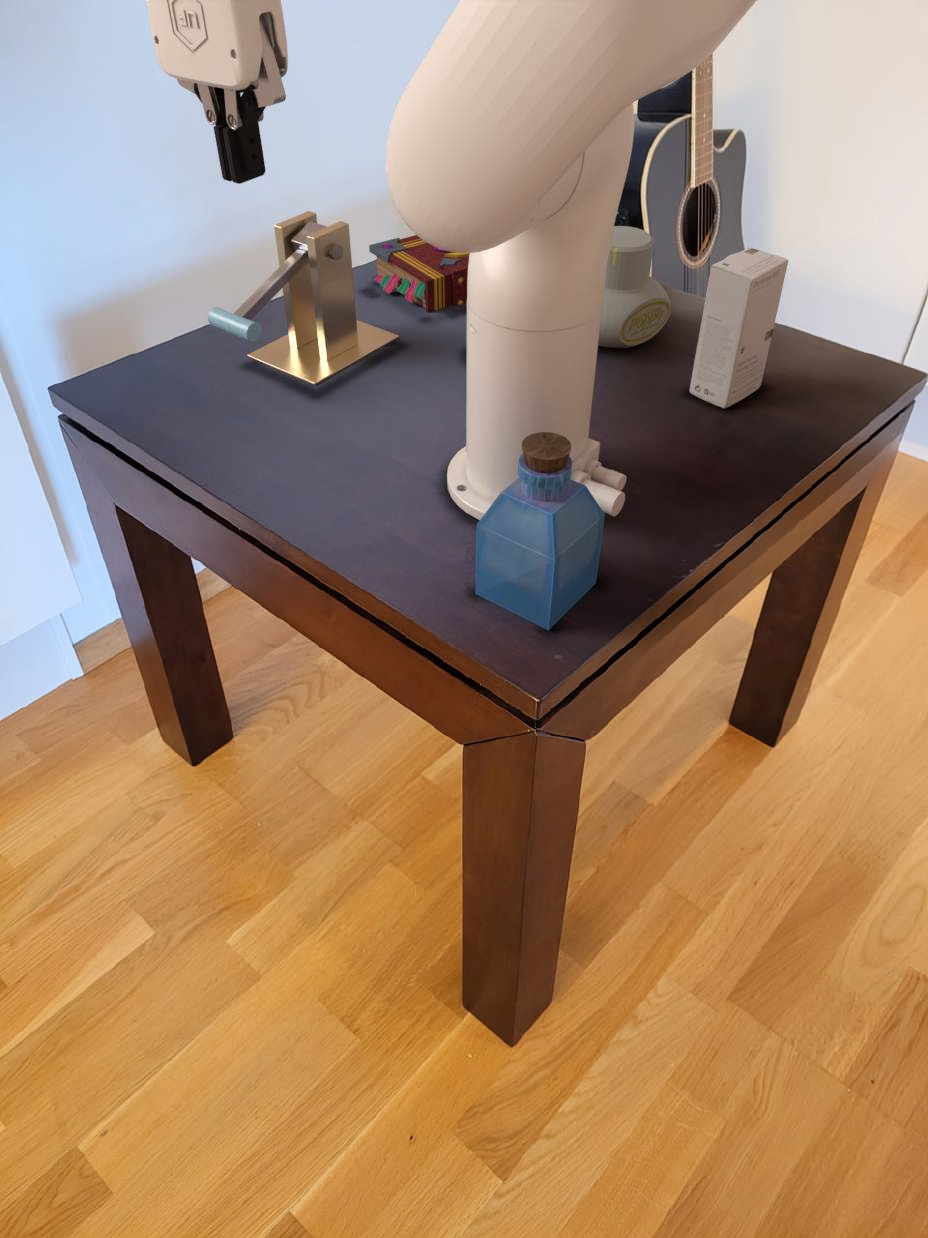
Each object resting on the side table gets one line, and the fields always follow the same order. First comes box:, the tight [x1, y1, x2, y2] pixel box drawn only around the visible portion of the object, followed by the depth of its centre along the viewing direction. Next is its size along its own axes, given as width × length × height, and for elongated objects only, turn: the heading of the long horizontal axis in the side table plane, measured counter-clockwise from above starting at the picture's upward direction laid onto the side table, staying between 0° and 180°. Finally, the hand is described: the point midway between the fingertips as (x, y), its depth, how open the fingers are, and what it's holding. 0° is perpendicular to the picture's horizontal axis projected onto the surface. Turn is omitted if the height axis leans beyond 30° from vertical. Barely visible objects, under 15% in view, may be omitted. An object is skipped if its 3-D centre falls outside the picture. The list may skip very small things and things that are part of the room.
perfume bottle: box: [475, 432, 606, 632], centre depth 64 cm, size 6×6×12 cm
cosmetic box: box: [689, 247, 789, 409], centre depth 84 cm, size 6×4×12 cm
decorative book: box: [368, 234, 470, 314], centre depth 103 cm, size 11×16×5 cm
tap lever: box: [207, 221, 328, 343], centre depth 84 cm, size 13×5×2 cm, turn 143°
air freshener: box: [598, 225, 672, 349], centre depth 93 cm, size 11×8×10 cm
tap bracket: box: [246, 210, 400, 387], centre depth 89 cm, size 12×9×13 cm
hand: (244, 176), depth 76 cm, fingers closed
